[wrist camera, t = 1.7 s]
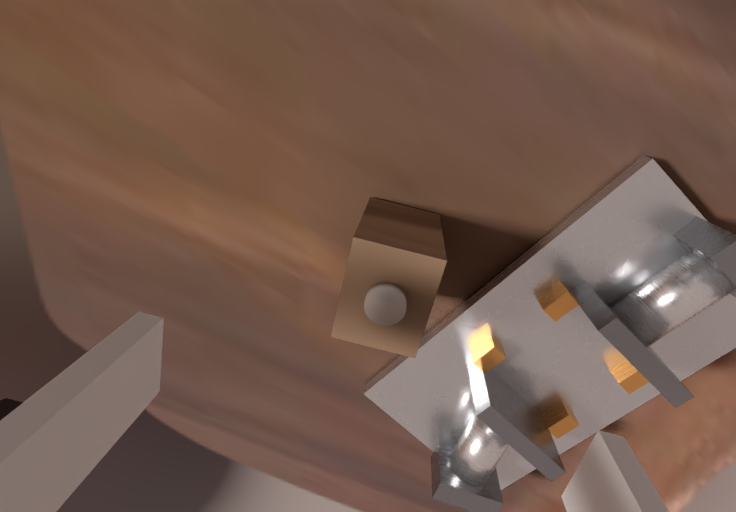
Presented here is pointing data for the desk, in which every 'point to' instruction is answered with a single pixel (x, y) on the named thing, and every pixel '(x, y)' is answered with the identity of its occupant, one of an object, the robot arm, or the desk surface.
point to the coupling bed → (576, 328)
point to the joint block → (391, 278)
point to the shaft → (469, 469)
